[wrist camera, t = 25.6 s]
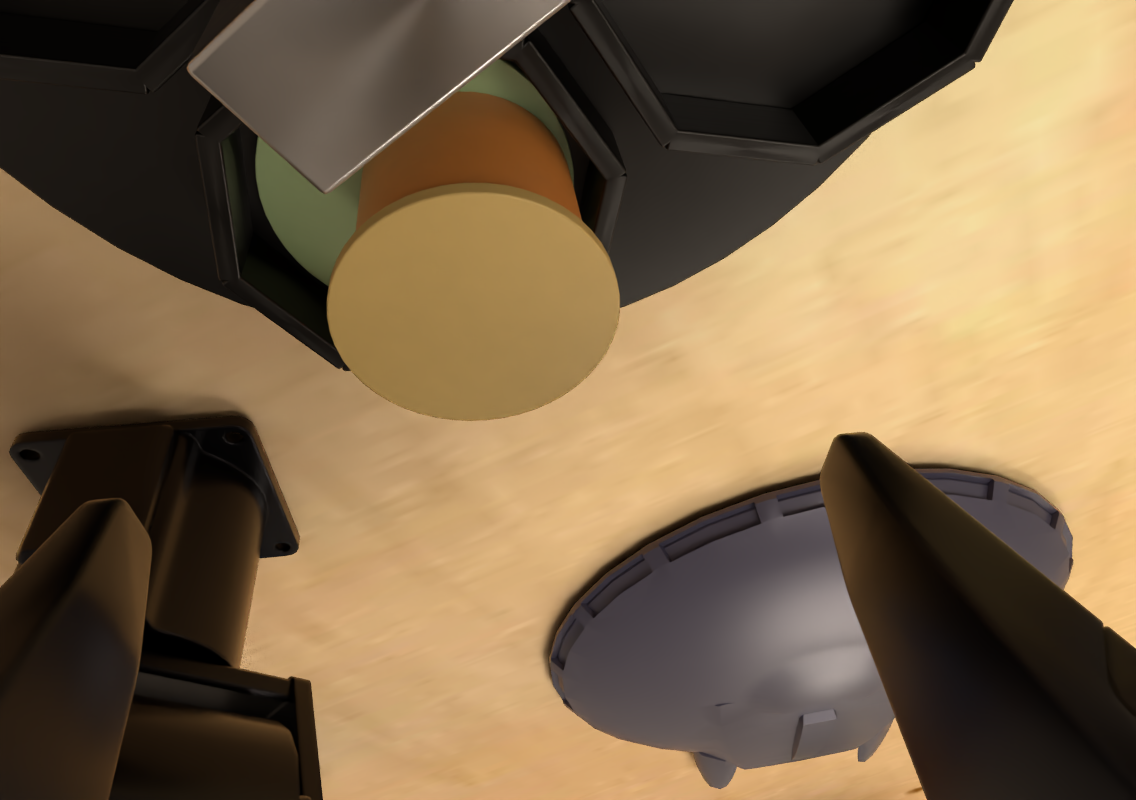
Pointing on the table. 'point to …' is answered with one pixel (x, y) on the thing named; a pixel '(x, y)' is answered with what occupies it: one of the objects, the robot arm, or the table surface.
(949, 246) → the table surface
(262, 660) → the table surface
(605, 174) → the cup holder
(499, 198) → the coffee pod
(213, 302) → the table surface
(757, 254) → the table surface
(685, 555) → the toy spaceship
